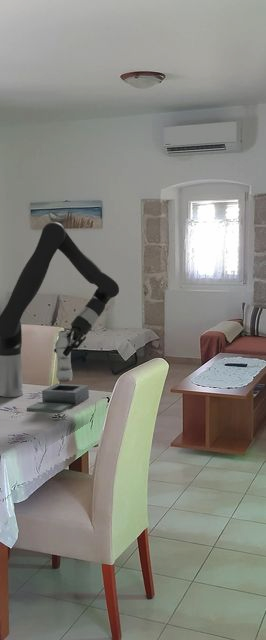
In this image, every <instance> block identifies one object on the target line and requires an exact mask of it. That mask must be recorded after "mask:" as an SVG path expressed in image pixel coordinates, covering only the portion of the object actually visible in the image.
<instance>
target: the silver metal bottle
mask: <svg viewBox="0 0 266 640" xmlns="http://www.w3.org/2000/svg"><path fill="white" fill-rule="evenodd" d="M67 331H68V330H67ZM67 331H64V330H59V331H58V333H57V336H58V338H57V340H56V342H55V343H54V344H55V348H56V353H57V354H56V353H55V354H56V359H57V365H56V380H57V381H58V382H62V383H66V382H70V381H72V379H73V376H74V375H73V369H72V362H71V357H72V356H71V355H72V354H71V353H72V351H71V352H70V353H69V355H68V356H65V355H64V354H63V352H64V350H65V349H66V348H67V346H69V343H70V340H69V339H68V338H67V336H68V332H67Z"/></svg>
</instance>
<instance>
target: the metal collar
mask: <svg viewBox="0 0 266 640" xmlns="http://www.w3.org/2000/svg"><path fill="white" fill-rule="evenodd" d="M89 395H90V394H89V385H88V384H87V385H85V384H73V383H72V384H71V383H70V384H69V383H67V384H66V383H55V384H53V385H51V386H49V387H47V388H45V389H44V390H41V399H42V401H41V402H45V403H60V404H71V406H78V405H80V404H81V403H82V402H84V401H86V400H87V399H89V397H90V396H89Z"/></svg>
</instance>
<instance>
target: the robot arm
mask: <svg viewBox="0 0 266 640" xmlns="http://www.w3.org/2000/svg"><path fill="white" fill-rule="evenodd" d="M39 237H40V238H39V240H38V242H37V245H36V247H35V249H34V251H33V254H32V255H31V256H30V258H29V259H28V260H27V262H26V264H25V266H24V267H23V269H22V270H21V272H20V274H19V277H18V278H17V280H16V284H15V286H14V287H13V290H12V292H11V294H10V297H9V299H8V302H7V304H6V305H5V307H4V309H3V311H2V312H1V314H0V397H1V396H2V397H1V398H15V397H17V398H18V397H21V396H23V394H24V391H23V388H24V387H23V371H22V368H23V367H22V350H21V349H22V344H23V339H22V338H23V337H22V335H23V334H22V323H21V319H22V317H23V314H24V313H25V311H26V309H27V308H28V306H29V305H30V304H31V302H32V301H33V299H34V298H35V296H36V295H37V294H38V292H39V290H40V289H41V287H42V284H43V282H44V280H45V278H46V276H47V272H48V270H49V267H50V265H51V264H50V263H51V262H52V259H53V257H54V255H55V254H56V252H57V251H58V250H59V251H60V253H62V254H63V255H64V256H65V257H66V258H67V259H68V260H69V262H70V263H71V264H72V266H73V267H74V268H75V269H76V271H78V273H79V274H80V275H81V276H82V277H83V278H84V279H85V280H86V281H87V282H88V283H89V284H91V285H94V286H96V290H95V291H94V293H93V295H92V297H91V298H90V300H89V301H88V302H87V303H86V304H85V306H84V307H83V308H82V309H81V310H80V311H79V312H78V313H77V315H76V316H75V318H74V319H73V321H72V322H71V323H70V326H71V328H70V329H69V330H67V329H64V330H63V331H67V332H68V336H67V338H68V339H69V340H70V343H69V346H67V348H66V349H65V350H64V352H63V354H64V355H65V356H68V355H69V353H70V352H71V353H72V351H73V350H75V349H76V350H77V349H79V347H80V346H81V345H82V344H83V342H84V341H85V340H86V339H87V337H86V336H87V334H88V333H89V332H90V331H91V329H92V328H93V327H94V325H95V324H96V323H97V321H98V319H99V318H100V316H101V315H102V313H104V310H105V308H106V305H107V304H108V302H109V301H110V300H111V299H113V298H115V297H116V296H117V295H119V292H120V286H119V284H118V283H117V281H116V280H115V279H113V278H112V277H111V276H110V275H108V274H107V273H106V272H104V271H102V270H101V269H100V267H98V265H97V264H96V263H95V262H94V261H93V260H92V259H91V258H90V257H89V256H88V255H87V254H86V253H84V251H83V250H81V248H79V246H78V245H77V244H76V243H75V242H74V240H73V239H72V238H71V236H70V235H69V233H68V232H67V231H66V229H65V227H64V226H63V224H61V223H60V222H58V221H51V222H50V221H49V222H47V224H45V225H44V226H43V228H42V231H41V235H40V236H39ZM53 352H54V353H55V354H56V355H57V353H56V347H55V348H54V350H53Z"/></svg>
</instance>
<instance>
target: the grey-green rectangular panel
mask: <svg viewBox="0 0 266 640" xmlns="http://www.w3.org/2000/svg"><path fill="white" fill-rule="evenodd" d="M71 407H72V405H71V404H60V403H45V402H43V401H41V402H40V401H37V402H36V403H33V404H32V405H31V404H30V406H28V407H26V411H29V412H42V413H44V412H45V413H59V414H62V413H63V412H65V411H67V410H68V409H69V408H71Z"/></svg>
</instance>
